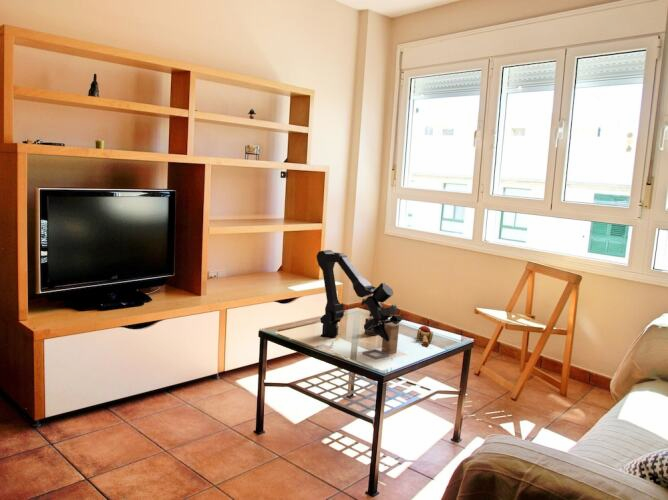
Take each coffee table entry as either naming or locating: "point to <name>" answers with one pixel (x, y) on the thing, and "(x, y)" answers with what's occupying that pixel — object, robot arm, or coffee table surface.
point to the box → (371, 328)
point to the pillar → (390, 338)
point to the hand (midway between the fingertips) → (392, 340)
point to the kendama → (425, 335)
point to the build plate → (380, 354)
